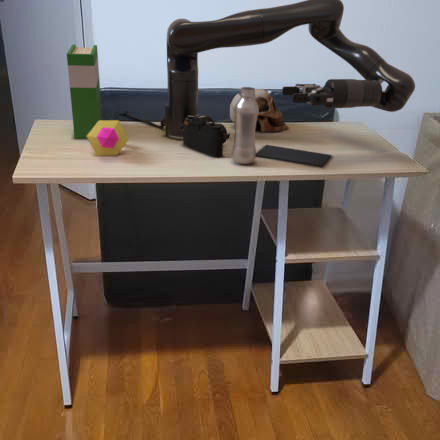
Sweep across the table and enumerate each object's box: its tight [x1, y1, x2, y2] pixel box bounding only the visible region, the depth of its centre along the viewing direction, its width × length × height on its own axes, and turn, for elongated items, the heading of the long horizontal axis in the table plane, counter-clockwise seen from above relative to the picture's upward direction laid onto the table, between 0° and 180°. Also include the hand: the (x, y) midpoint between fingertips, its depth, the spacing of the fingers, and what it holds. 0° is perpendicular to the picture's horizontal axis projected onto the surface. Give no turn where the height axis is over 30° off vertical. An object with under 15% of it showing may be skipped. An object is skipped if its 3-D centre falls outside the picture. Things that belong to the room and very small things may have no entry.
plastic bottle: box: [231, 86, 259, 165], centre depth 152 cm, size 6×7×20 cm
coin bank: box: [229, 88, 289, 133], centre depth 186 cm, size 16×17×13 cm
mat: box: [255, 144, 332, 168], centre depth 163 cm, size 20×11×1 cm, turn 68°
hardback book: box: [66, 44, 103, 140], centre depth 171 cm, size 18×7×24 cm, turn 7°
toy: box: [87, 119, 130, 157], centre depth 157 cm, size 10×18×10 cm, turn 11°
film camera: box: [180, 113, 231, 158], centre depth 164 cm, size 18×12×10 cm
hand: (287, 94), depth 150 cm, fingers open, 8 cm apart
